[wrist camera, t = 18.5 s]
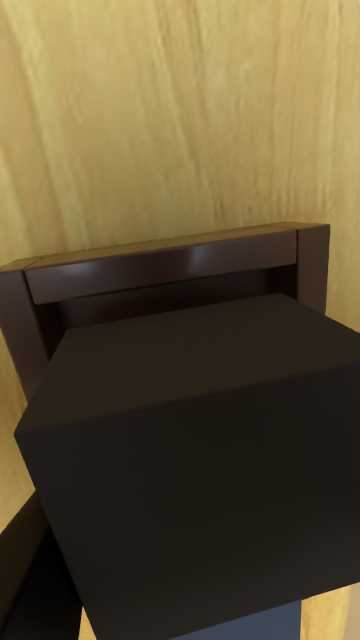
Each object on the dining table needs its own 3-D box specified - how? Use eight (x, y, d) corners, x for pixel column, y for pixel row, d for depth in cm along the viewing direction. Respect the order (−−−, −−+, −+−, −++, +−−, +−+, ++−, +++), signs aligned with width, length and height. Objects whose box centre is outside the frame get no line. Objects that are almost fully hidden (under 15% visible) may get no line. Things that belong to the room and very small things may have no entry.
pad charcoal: (280, 291, 8) (401, 353, 5) (281, 453, 11) (364, 582, 7) (66, 328, 8) (10, 433, 4) (112, 493, 10) (103, 660, 6)
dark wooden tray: (285, 221, 11) (331, 223, 8) (283, 544, 17) (309, 598, 15) (15, 259, 10) (-21, 274, 7) (120, 589, 16) (119, 656, 14)
